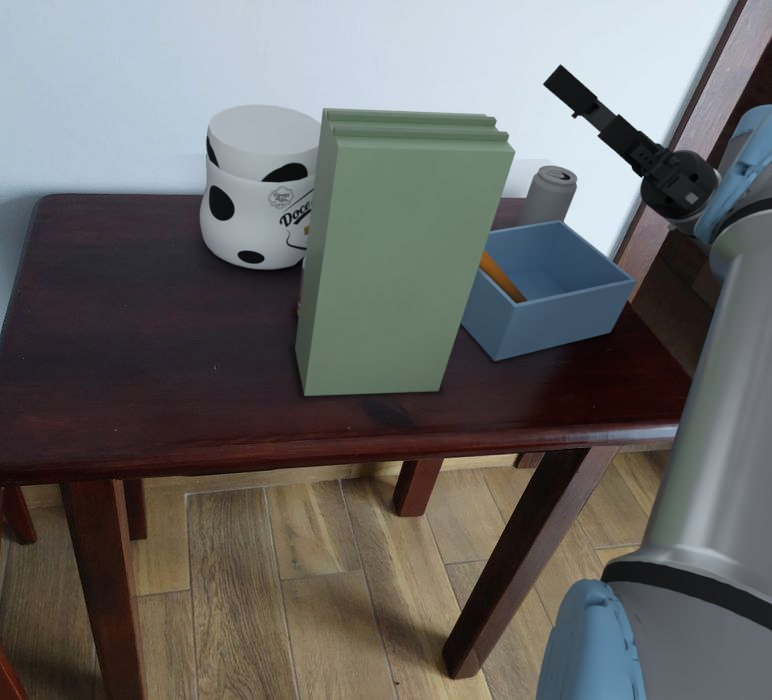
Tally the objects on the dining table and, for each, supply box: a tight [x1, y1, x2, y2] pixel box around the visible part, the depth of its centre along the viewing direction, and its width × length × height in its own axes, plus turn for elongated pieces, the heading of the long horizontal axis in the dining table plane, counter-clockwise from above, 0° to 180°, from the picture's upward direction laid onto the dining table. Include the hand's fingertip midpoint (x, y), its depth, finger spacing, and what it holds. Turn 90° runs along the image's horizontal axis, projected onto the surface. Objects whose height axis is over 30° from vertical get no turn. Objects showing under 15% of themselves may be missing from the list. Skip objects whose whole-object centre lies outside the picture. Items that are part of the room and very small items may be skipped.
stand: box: [294, 107, 516, 397], centre depth 71 cm, size 16×8×31 cm, turn 98°
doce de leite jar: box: [199, 104, 321, 272], centre depth 92 cm, size 17×17×18 cm
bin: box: [460, 220, 638, 362], centre depth 90 cm, size 15×19×9 cm
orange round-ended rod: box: [479, 250, 528, 304], centre depth 85 cm, size 20×2×2 cm
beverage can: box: [515, 165, 578, 227], centre depth 103 cm, size 6×6×12 cm
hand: (578, 98), depth 71 cm, fingers open, 13 cm apart
